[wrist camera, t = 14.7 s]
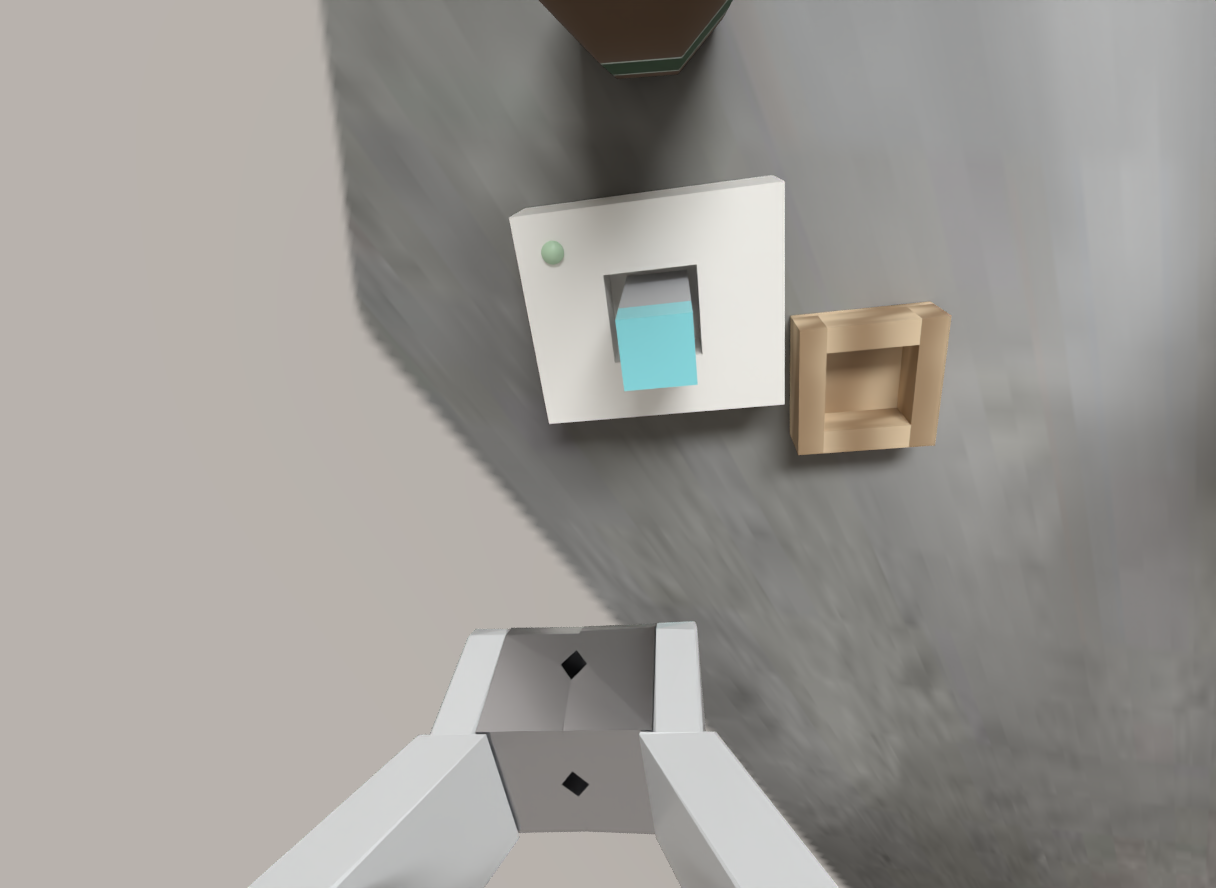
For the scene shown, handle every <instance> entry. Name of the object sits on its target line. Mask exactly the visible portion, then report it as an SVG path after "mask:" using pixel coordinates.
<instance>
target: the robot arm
mask: <svg viewBox="0 0 1216 888" xmlns="http://www.w3.org/2000/svg"><path fill="white" fill-rule="evenodd" d="M577 831H590V832H591V831H592V832H616V833H639V834H640V833H641V834H655V835H656V839H657V841H658V843H659V845H660V847H661V848H662V851H663V853H664V854H665V856H666V858H667V860H668V862H669V864H670V866H671V868H672V870H673V872H674V874H675V876H676V878H677V880H678V881H679V884H680V886H681V888H839V887H838V885H837V884H836V883H835V882H834V880H833V879H832V878H831V877H830V875H829V874H828V873H827V872H826V870H825V869H824V868H823V867H822V865H821V864H820V863H819V861H818V860H817V859H816V858H815V856H814V855H813V854H812V853H811V851H810V850H809V849H808V848H807V846H806V845H805V844H804V842H803V841H802V840H801V839H800V837H799V836H798V835H797V834H796V832H795V831H794V830H793V829H792V827H791V826H790V825H789V824H788V822H787V821H786V820H785V818H784V817H783V816H782V815H781V813H780V812H779V811H778V810H777V808H776V807H775V806H774V805H773V803H772V802H771V801H770V799H769V798H768V797H767V796H766V794H765V793H764V792H763V791H762V789H761V788H760V787H759V786H758V784H757V783H756V782H755V781H754V779H753V778H752V777H751V775H750V774H749V773H748V772H747V770H746V769H745V768H744V767H743V765H742V764H741V763H740V762H739V760H738V759H737V758H736V756H735V755H734V754H733V753H732V751H731V750H730V749H729V748H728V746H727V745H726V744H725V743H724V741H723V740H722V739H721V738H720V736H719V735H718V734H717V732H709V731H706V730H705V718H704V706H703V694H702V682H701V670H700V658H699V646H698V634H697V625H696V623H695V622H694V621H691V622H670V623H655V624H633V625H610V626H589V627H560V628H559V627H554V628H553V627H550V628H511V629H475V630H474V631H473V632H472V634H471V635H470V636H469V637H468V638H467V641H466V643H465V646H464V648H463V651H462V653H461V656H460V659H459V661H458V664H457V666H456V669H455V671H454V674H453V676H452V679H451V681H450V684H449V687H448V689H447V692H446V694H445V697H444V699H443V702H442V704H441V707H440V710H439V712H438V715H437V717H436V720H435V722H434V725H433V727H432V730H431V732H430V734H429V735H418V736H417V737H415V738H414V739H413V740H412V741H411V742H410V743H409V744H408V745H406V746H405V747H404V748H403V749H402V750H401V751H400V752H399V753H398V754H396V755H395V756H394V757H393V758H392V759H391V760H390V761H389V762H387V763H386V764H385V765H384V766H383V767H382V768H381V769H380V770H378V771H377V772H376V773H375V774H374V775H373V776H372V777H371V778H369V779H368V780H367V781H366V782H365V783H364V784H363V785H362V786H361V787H359V788H358V789H357V790H356V791H355V792H354V793H353V794H352V795H351V796H350V797H348V798H347V799H346V800H345V801H344V802H343V803H342V804H340V805H339V806H338V807H337V808H336V809H335V810H334V811H333V812H332V813H330V814H329V815H328V816H327V817H326V818H325V819H324V820H323V821H321V822H320V823H319V824H318V825H317V826H316V827H315V828H314V829H312V830H311V831H310V832H309V833H308V834H307V835H306V836H305V837H303V839H301V840H300V841H299V842H298V843H297V844H296V845H295V846H293V847H292V848H291V849H290V850H289V851H288V852H287V853H286V854H284V855H283V856H282V857H281V858H280V859H279V860H278V861H277V862H276V863H274V864H273V865H272V866H271V867H270V868H269V869H268V870H267V871H265V873H263V874H262V875H261V876H260V877H259V878H258V879H257V880H255V881H254V882H253V883H252V884H251V885H250V886H249V887H248V888H484V887H485V886H486V884H487V883H488V882H489V880H490V879H491V877H492V876H493V874H494V873H495V872H496V870H497V869H498V867H499V866H500V864H501V863H502V862H503V860H504V859H505V857H506V856H507V855H508V853H509V852H510V850H511V849H512V847H513V846H514V845H515V843H516V842H517V840H518V839H519V833H527V832H577Z"/></svg>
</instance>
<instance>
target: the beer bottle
mask: <svg viewBox="0 0 1216 888" xmlns="http://www.w3.org/2000/svg"><path fill="white" fill-rule="evenodd" d="M539 1H540V2H541V3H542V4H543V5H544V6H545V7H546V8H547V9H548V10H549V12H550V13H551V14H552V15H553V16H554V17H555V18H556V19H557V20H558V21H559V22H560V23H561V24H562V25H563V26H564V27H565V28H566V29H567V30H568V31H569V32H570V33H571V34H572V35H573V36H574V37H575V38H576V39H577V40H578V41H579V42H580V44H581V45H582V46H583V47H584V48H585V49H586V50H587V51H588V52H589V53H590V54H591V55H592V56H593V57H594V58H595V59H596V60H597V61H598V62H599V63H600V64H601V65H602V66H603V67H604V68H606V69H607V70H608V71H609V72H610V73H611V74H612V75H613V76H615V77H616V78H617V79H624V78H637V77H650V76H663V75H676V74H679V72H680V71H681V70H682V69H683V67H684V66H685V65H686V64H687V62H688V61H689V60H690V59H691V57H692V56H693V55H694V54H695V52H696V51H697V50H698V49H699V47H700V46H701V45H702V44H703V42H704V41H705V40H706V39H707V37H708V36H709V35H710V34H711V32H712V31H713V30H714V29H715V27H716V26H717V25H718V24H719V22H720V21H721V20H722V19H723V17H724V15H725V13H726V12H727V10H728V8H729V6H730V4H731V2H732V0H539Z"/></svg>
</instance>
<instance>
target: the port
mask: <svg viewBox="0 0 1216 888" xmlns="http://www.w3.org/2000/svg"><path fill="white" fill-rule="evenodd" d="M509 220H510V225H511V230H512V236H513V241H514V246H515V251H516V256H517V261H518V266H519V272H520V277H521V282H522V287H523V292H524V297H525V302H526V307H527V313H528V318H529V323H530V328H531V333H532V338H533V343H534V349H535V354H536V359H537V364H538V369H539V374H540V379H541V384H542V390H543V395H544V400H545V405H546V410H547V415H548V420H549V424H554V423H566V422H578V421H590V420H602V419H614V418H627V417H639V416H651V415H663V414H675V413H687V412H699V411H711V410H723V409H735V408H747V407H759V406H771V405H783V404H785V181H783V180H781V179H779V178H777V177H775V176H773V175H769V176H762V177H754V178H747V179H739V180H732V181H724V182H717V183H709V184H702V185H694V186H687V187H679V188H672V189H664V190H657V191H650V192H642V193H635V194H627V195H620V196H612V197H605V198H597V199H590V200H582V201H575V202H567V203H560V204H552V205H545V206H537V207H530V208H524V209H523V210H521V211H519V212H518V213H516V214H514V215H513V216H511V217H509ZM678 270H687V273H688V281H689V288H690V296H691V303H692V311H693V324H694V338H695V353H696V367H697V382H698V385H689V386H678V387H667V388H655V389H644V390H633V391H624V385H623V377H622V369H621V362H620V354H619V346H618V338H617V330H616V323H615V319H616V315H617V312H618V308H619V304H620V300H621V296H622V293H623V289H624V285H625V281H626V278H627V276H634V275H643V274H652V273H661V272H669V271H678Z"/></svg>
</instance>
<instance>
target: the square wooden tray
mask: <svg viewBox="0 0 1216 888" xmlns="http://www.w3.org/2000/svg"><path fill="white" fill-rule="evenodd" d="M950 323H951V315H950V314H948V313H947V312H945V311H944V310H942V309H941V308H939V307H938V306H936V305H935V304H933V303H932V302H920V303H911V304H901V305H891V306H881V307H872V308H862V309H852V310H842V311H833V312H823V313H813V314H803V315H793V316H790V435H791V438H792V440H793V443H794V445H795V448H796V450H797V453H798V455H807V454H821V453H835V452H848V451H862V450H876V449H890V448H904V447H918V446H932V445H935V441H936V433H937V425H938V417H939V409H940V402H941V394H942V386H943V378H944V370H945V362H946V354H947V347H948V339H949V331H950Z"/></svg>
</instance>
